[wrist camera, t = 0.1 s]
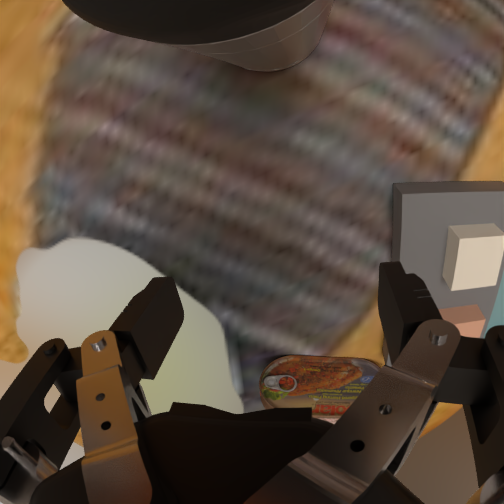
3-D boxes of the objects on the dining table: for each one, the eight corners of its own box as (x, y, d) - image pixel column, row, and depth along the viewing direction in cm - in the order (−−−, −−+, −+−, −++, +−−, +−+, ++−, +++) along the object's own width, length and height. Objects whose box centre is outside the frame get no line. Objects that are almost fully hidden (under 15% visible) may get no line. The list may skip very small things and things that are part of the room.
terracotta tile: (435, 309, 28) (443, 325, 26) (477, 304, 27) (485, 319, 25) (427, 345, 30) (433, 361, 28) (466, 339, 29) (473, 355, 27)
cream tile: (448, 225, 24) (459, 238, 22) (493, 223, 23) (506, 235, 21) (442, 275, 26) (451, 291, 24) (485, 270, 25) (495, 285, 23)
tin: (386, 357, 36) (396, 413, 28) (379, 374, 37) (387, 428, 30) (264, 351, 38) (254, 407, 30) (263, 367, 39) (254, 422, 32)
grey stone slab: (393, 183, 26) (402, 194, 23) (501, 181, 24) (517, 191, 21) (382, 349, 35) (386, 368, 32) (469, 338, 33) (477, 354, 30)
